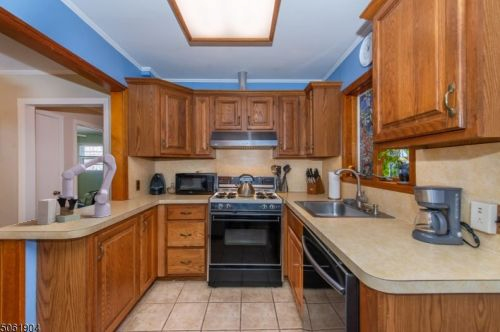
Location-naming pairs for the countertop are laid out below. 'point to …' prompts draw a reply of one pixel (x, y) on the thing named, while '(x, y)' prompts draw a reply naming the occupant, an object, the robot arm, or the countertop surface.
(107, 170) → the robot arm
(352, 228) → the countertop surface
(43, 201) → the skincare box
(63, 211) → the walnut cube
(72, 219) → the sage block
